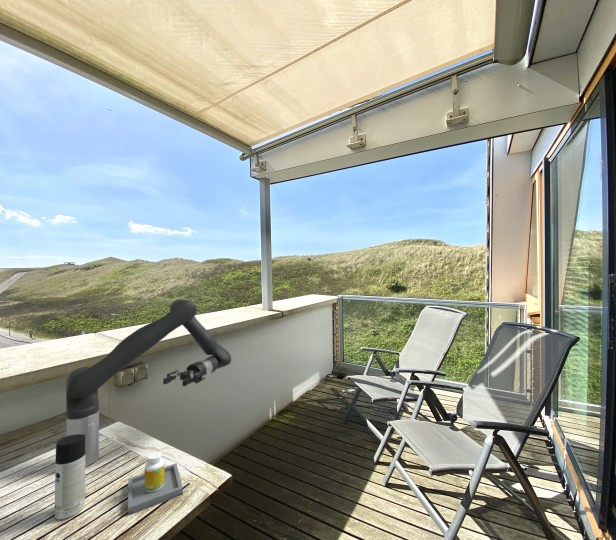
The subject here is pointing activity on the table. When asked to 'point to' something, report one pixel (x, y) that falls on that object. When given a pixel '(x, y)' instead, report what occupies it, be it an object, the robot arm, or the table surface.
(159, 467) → the supplement bottle
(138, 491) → the tray
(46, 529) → the table surface
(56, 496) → the spray can
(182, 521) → the table surface
